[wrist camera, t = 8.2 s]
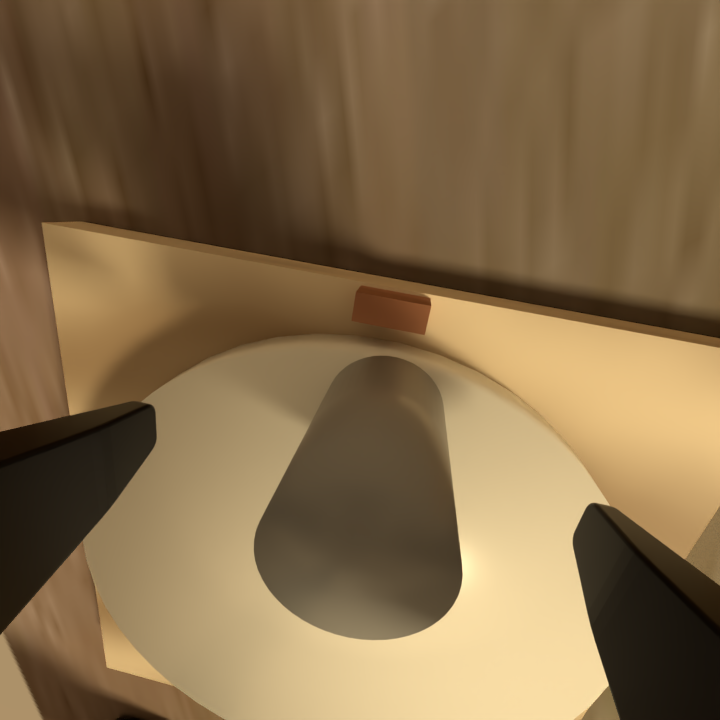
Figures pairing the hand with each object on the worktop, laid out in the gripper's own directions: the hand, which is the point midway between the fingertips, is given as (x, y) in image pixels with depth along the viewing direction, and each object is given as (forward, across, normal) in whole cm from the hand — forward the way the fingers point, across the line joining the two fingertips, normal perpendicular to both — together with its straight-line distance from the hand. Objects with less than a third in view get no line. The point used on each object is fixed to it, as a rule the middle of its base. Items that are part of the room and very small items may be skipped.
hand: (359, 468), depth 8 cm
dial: (+4, 0, +8) cm, 9 cm away
